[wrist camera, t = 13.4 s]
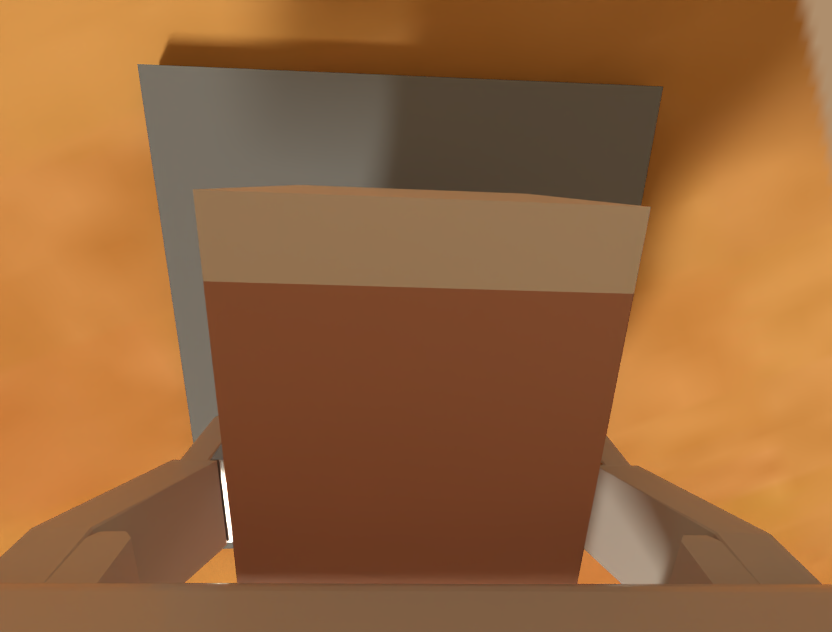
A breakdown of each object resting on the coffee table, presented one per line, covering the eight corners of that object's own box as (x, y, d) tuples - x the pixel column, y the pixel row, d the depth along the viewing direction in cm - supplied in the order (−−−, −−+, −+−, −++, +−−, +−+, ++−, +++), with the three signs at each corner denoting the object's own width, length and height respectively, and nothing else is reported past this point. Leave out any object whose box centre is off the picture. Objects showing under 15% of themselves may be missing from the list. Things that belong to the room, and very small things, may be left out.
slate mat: (215, 535, 17) (209, 548, 16) (150, 69, 12) (137, 64, 11) (571, 535, 17) (577, 547, 17) (650, 90, 12) (663, 86, 12)
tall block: (267, 846, 8) (192, 190, 5) (317, 600, 13) (299, 184, 9) (527, 839, 8) (651, 207, 5) (481, 600, 13) (526, 193, 10)
